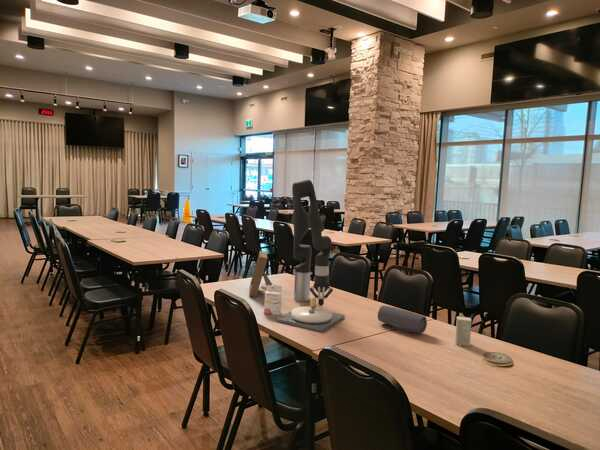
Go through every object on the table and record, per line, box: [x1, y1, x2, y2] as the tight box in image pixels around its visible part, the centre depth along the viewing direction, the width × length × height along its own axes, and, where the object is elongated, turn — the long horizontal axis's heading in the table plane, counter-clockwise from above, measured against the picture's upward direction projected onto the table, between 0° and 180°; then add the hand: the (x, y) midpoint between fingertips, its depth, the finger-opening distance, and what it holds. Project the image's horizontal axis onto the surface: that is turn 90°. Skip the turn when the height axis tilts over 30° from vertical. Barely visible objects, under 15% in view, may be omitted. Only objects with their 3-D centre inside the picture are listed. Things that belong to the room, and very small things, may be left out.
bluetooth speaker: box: [377, 304, 428, 334], centre depth 206 cm, size 23×9×10 cm, turn 47°
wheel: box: [290, 296, 333, 323], centre depth 215 cm, size 21×21×7 cm
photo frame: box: [248, 250, 273, 298], centre depth 262 cm, size 15×22×25 cm
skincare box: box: [454, 316, 472, 347], centre depth 189 cm, size 6×4×12 cm
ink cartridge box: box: [263, 284, 282, 316], centre depth 223 cm, size 9×5×15 cm, turn 84°
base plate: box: [276, 305, 346, 333], centre depth 215 cm, size 26×26×2 cm
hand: (320, 305), depth 224 cm, fingers closed
